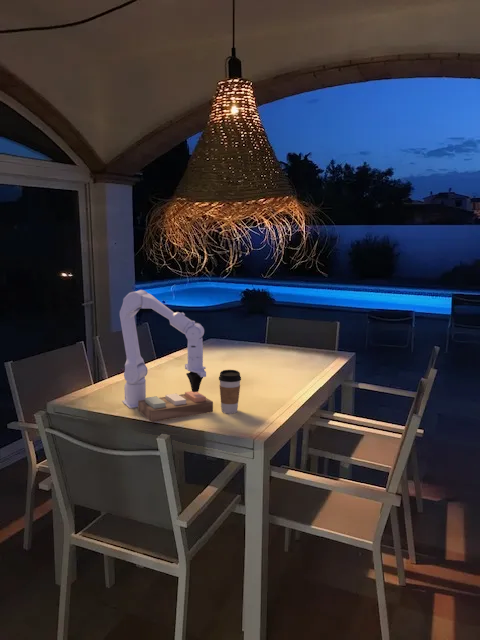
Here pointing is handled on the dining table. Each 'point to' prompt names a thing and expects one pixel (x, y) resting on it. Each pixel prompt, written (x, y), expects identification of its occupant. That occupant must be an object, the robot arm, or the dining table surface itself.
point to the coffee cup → (229, 390)
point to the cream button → (175, 399)
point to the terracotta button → (195, 396)
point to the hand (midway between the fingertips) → (195, 391)
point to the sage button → (155, 402)
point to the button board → (174, 409)
